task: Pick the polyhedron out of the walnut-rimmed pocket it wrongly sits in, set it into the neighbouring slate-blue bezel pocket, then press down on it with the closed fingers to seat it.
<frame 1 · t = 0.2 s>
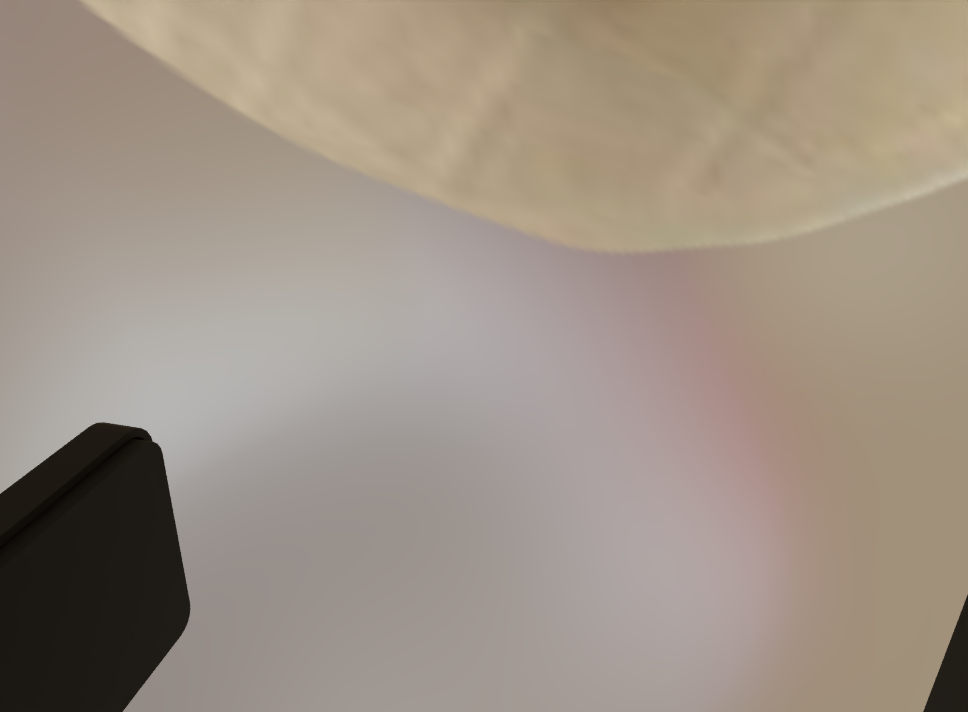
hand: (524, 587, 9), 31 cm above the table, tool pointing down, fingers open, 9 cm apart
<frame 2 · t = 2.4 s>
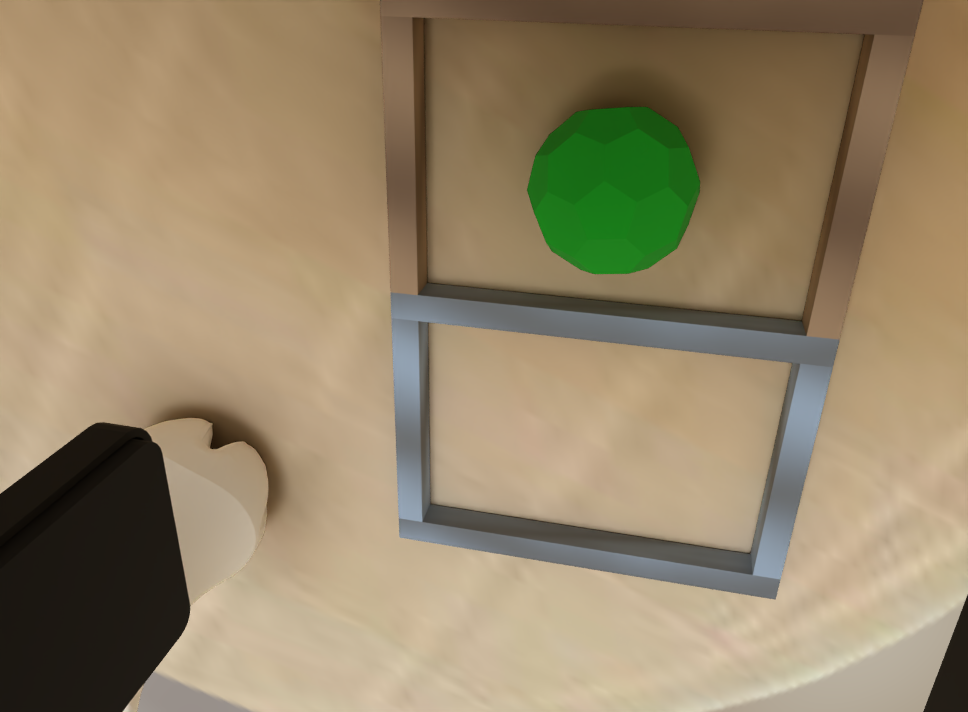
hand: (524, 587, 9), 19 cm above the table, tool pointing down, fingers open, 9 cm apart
polyhedron: (619, 171, 26), on the table
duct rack: (605, 314, 28), on the table
water bottle: (216, 467, 35), on the table
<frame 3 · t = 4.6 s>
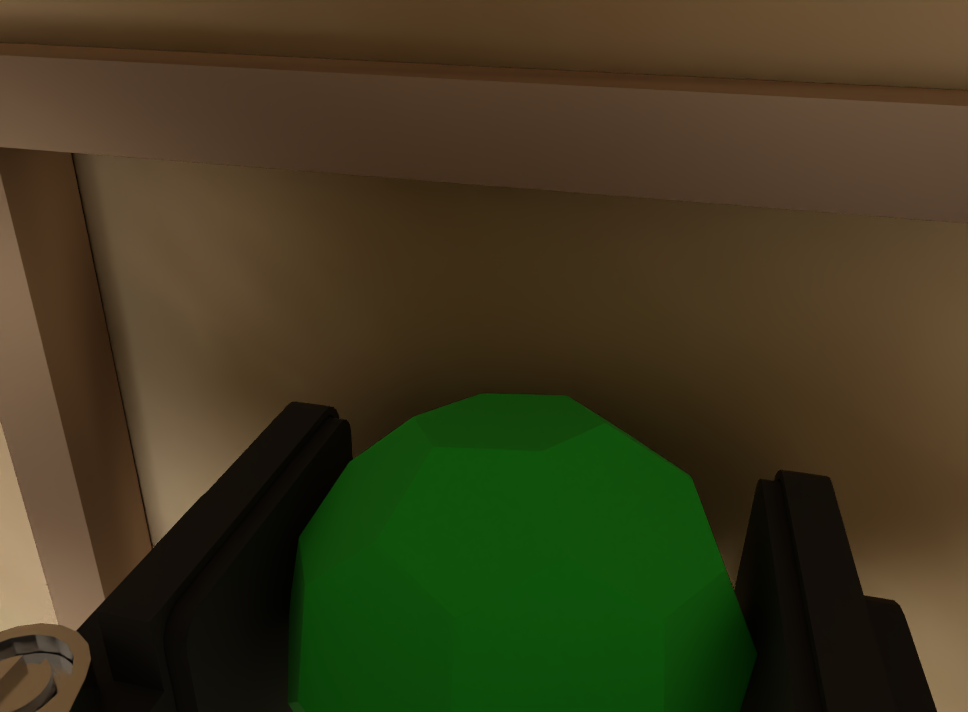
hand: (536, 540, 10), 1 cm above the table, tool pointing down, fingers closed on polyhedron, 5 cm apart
polyhedron: (551, 487, 11), on the table, touching gripper
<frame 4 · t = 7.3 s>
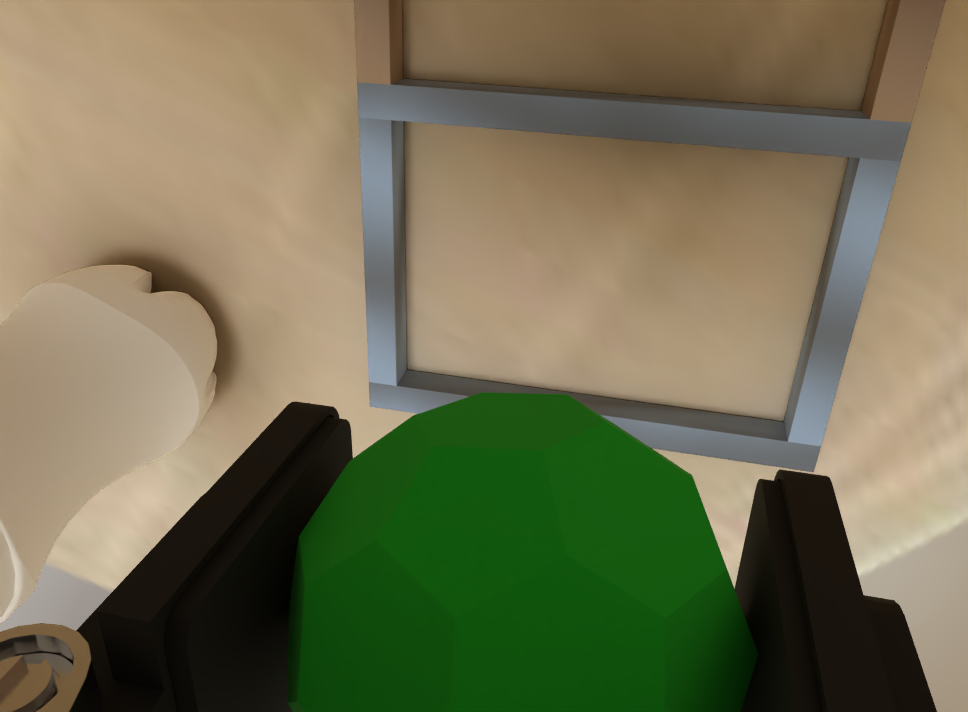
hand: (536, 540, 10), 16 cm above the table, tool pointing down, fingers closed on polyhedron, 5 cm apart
polyhedron: (551, 486, 11), point 15 cm above the table, touching gripper
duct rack: (618, 112, 23), on the table
water bottle: (158, 332, 30), on the table
when the fingers open (2 cm above the table, at t = 10.4 s): polyhedron drops 1 cm, on the table.
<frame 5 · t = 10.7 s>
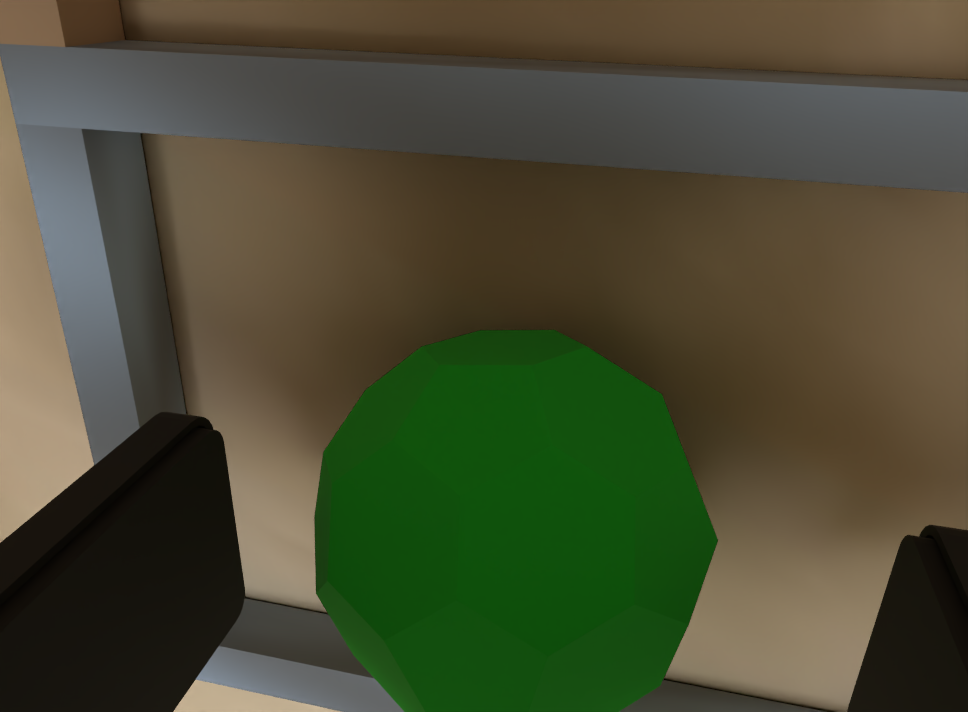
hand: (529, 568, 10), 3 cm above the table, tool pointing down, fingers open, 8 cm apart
polyhedron: (543, 422, 12), on the table
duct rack: (589, 104, 10), on the table
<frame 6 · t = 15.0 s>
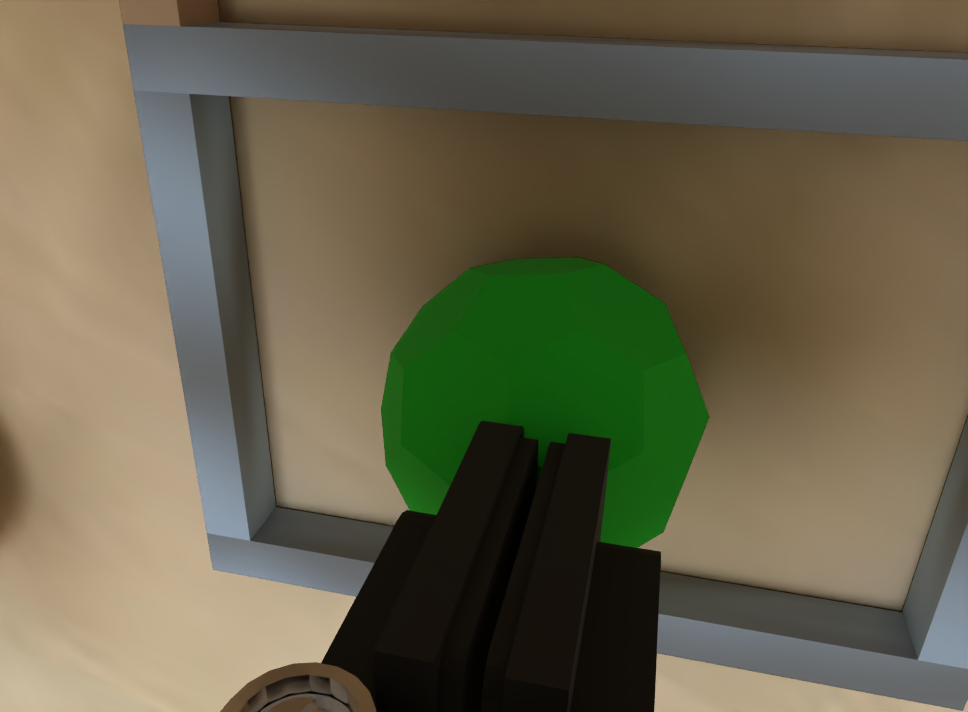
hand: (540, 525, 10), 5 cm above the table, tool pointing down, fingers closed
polyhedron: (564, 346, 15), on the table, touching gripper
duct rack: (606, 72, 12), on the table
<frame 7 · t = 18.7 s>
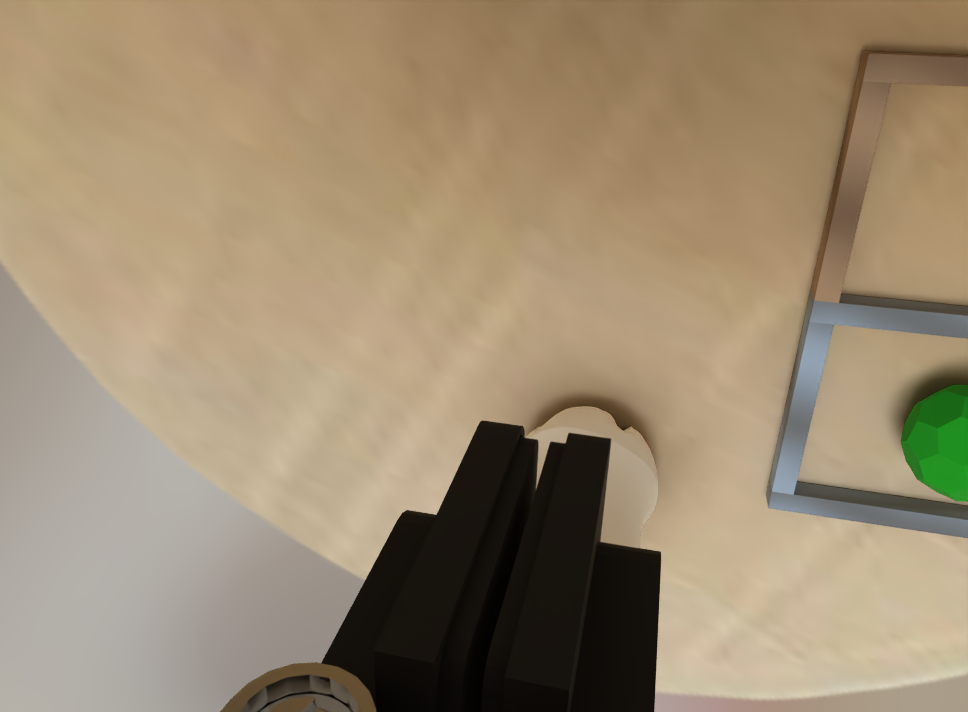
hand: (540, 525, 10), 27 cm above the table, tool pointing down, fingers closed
polyhedron: (949, 413, 36), on the table
water bottle: (590, 450, 41), on the table
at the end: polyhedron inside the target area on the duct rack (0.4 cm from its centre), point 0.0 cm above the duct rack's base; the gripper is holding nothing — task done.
